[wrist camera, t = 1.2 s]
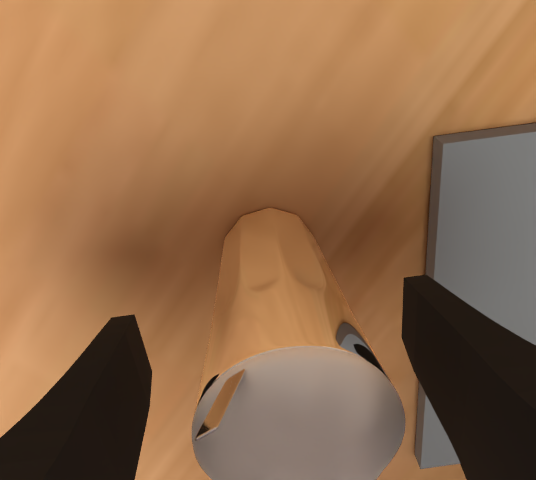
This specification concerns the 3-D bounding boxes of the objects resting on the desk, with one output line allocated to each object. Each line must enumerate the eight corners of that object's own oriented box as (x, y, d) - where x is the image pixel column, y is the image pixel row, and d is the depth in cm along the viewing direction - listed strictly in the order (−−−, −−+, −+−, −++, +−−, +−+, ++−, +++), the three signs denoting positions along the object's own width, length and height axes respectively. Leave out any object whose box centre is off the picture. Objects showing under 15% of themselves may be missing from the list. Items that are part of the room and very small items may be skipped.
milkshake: (272, 144, 16) (332, 363, 7) (354, 257, 18) (476, 528, 9) (163, 220, 17) (95, 495, 8) (254, 318, 19) (279, 614, 10)
